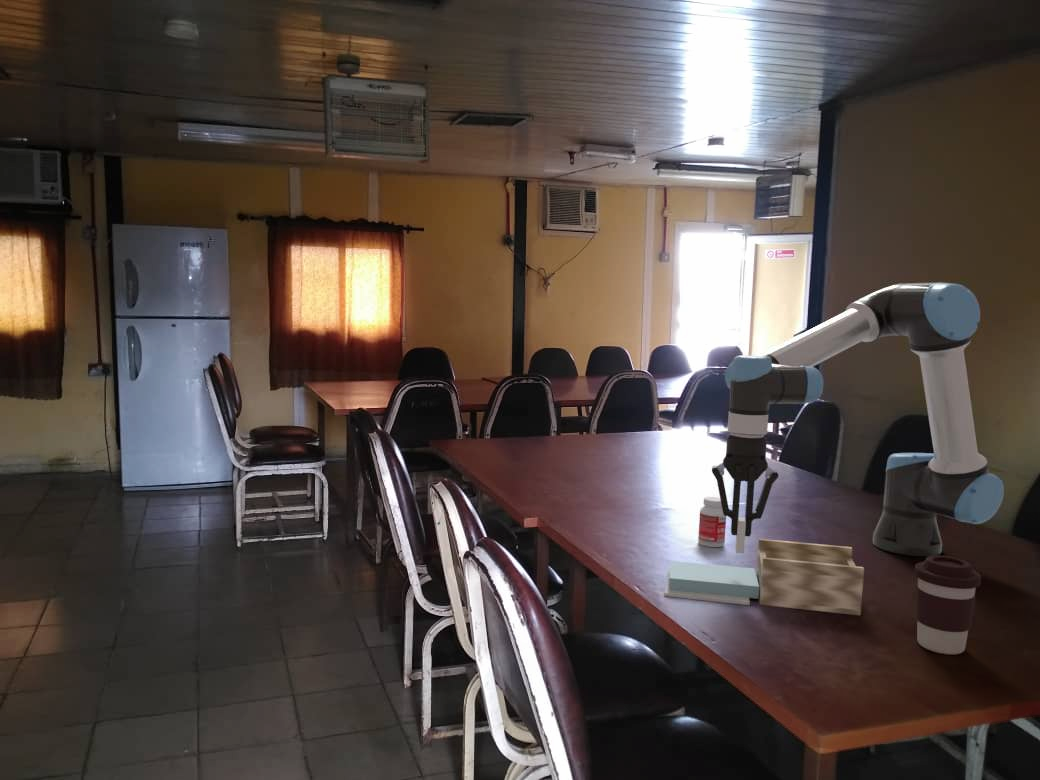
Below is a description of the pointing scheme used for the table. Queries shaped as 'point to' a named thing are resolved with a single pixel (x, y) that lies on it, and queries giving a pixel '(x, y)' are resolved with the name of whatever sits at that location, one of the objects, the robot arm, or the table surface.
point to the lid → (713, 579)
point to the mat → (704, 595)
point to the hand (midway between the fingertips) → (739, 551)
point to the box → (809, 577)
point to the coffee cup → (945, 603)
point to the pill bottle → (712, 523)
